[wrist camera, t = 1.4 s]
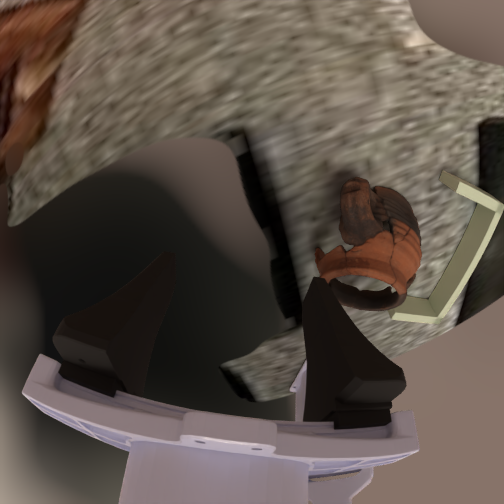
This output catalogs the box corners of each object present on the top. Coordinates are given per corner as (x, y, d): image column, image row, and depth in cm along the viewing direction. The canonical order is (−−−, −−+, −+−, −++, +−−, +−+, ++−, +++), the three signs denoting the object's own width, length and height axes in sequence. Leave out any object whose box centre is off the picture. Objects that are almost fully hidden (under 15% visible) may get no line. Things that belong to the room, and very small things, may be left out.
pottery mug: (426, 238, 23) (423, 316, 20) (343, 245, 30) (328, 314, 26) (400, 137, 16) (406, 226, 12) (291, 162, 22) (261, 241, 18)
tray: (429, 306, 27) (438, 324, 25) (383, 299, 27) (390, 319, 25) (488, 192, 19) (505, 205, 17) (442, 170, 19) (459, 181, 17)
